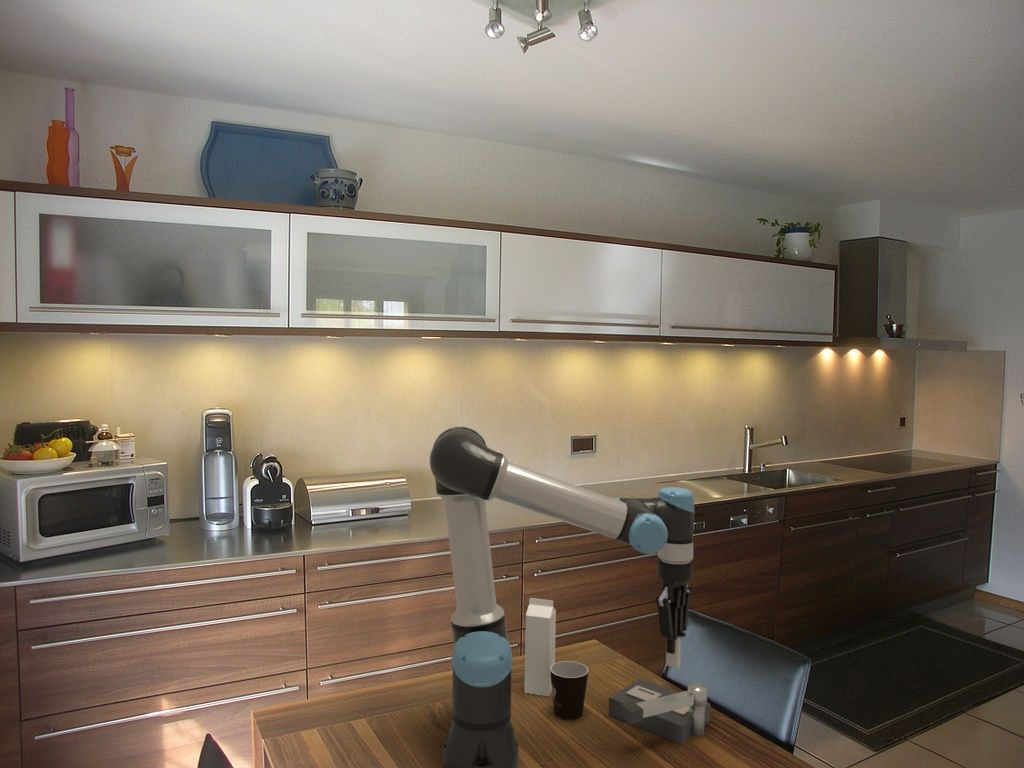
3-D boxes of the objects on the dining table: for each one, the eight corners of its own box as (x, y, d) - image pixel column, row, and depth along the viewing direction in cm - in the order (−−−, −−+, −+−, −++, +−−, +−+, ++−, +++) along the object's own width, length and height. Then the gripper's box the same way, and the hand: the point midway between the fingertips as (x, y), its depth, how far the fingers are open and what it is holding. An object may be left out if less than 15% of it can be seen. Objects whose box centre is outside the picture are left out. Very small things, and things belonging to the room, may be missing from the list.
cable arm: (698, 695, 156) (698, 681, 156) (710, 703, 152) (711, 689, 152) (619, 715, 147) (620, 699, 147) (631, 724, 143) (631, 708, 143)
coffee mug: (585, 724, 156) (586, 679, 156) (546, 720, 158) (547, 675, 157) (590, 699, 167) (591, 657, 167) (553, 695, 169) (554, 654, 169)
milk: (530, 682, 176) (532, 593, 175) (554, 686, 174) (556, 596, 173) (524, 693, 170) (525, 601, 169) (549, 697, 168) (550, 604, 167)
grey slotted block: (608, 715, 160) (609, 686, 160) (639, 695, 170) (639, 668, 170) (688, 747, 147) (689, 716, 147) (716, 723, 157) (717, 694, 157)
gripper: (673, 550, 163) (671, 652, 164) (644, 562, 154) (642, 670, 154) (704, 556, 159) (702, 661, 160) (676, 569, 149) (674, 681, 150)
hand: (673, 665), depth 157 cm, fingers closed
